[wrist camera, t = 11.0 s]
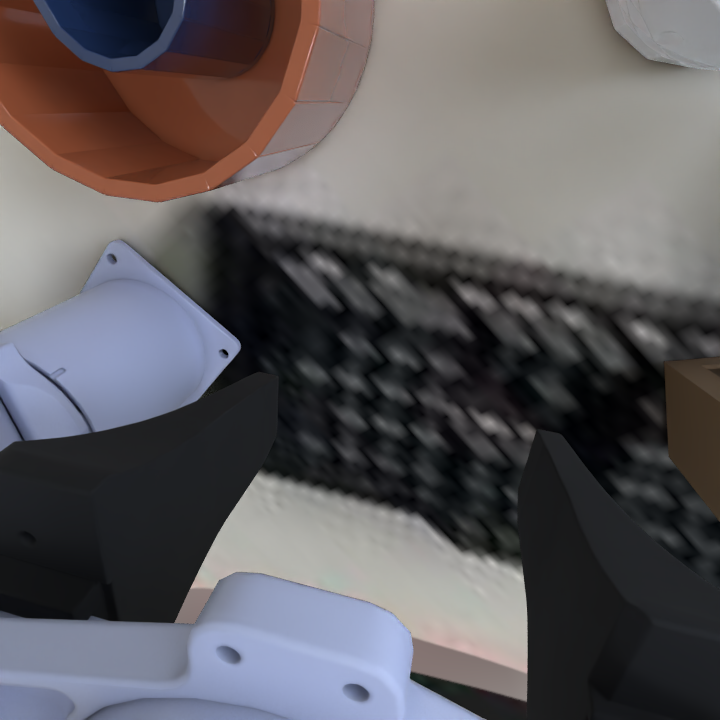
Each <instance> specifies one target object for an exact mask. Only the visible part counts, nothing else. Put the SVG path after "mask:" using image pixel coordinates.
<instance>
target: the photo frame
mask: <svg viewBox="0 0 720 720" xmlns="http://www.w3.org/2000/svg"><path fill="white" fill-rule="evenodd" d="M664 369H665V390H666V411H667V432H668V453H669V458H670V459H671V460H672V461H673V463H674V464H675V465H676V467H677V468H678V469H679V470H680V472H681V473H682V474H683V475H684V477H685V478H686V479H687V480H688V482H689V483H690V484H691V486H692V487H693V488H694V489H695V491H696V492H697V493H698V494H699V496H700V497H701V498H702V500H703V501H704V502H705V503H706V505H707V506H708V507H709V508H710V510H711V511H712V512H713V514H714V515H715V516H716V517H717V519H718V520H719V521H720V357H711V358H700V359H688V360H676V361H665V362H664Z"/></svg>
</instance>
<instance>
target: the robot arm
mask: <svg viewBox="0 0 720 720" xmlns="http://www.w3.org/2000/svg"><path fill="white" fill-rule="evenodd" d="M112 254H113V255H114V256H115V257H116V259H117V261H114V259H113V258H112ZM222 349H224V350H226V351H227V352H228V355H225V354H224V353H223V351H222ZM240 349H241V344H240V342H239V340H238V339H237V338H236V337H235V336H233V335H232V334H231V333H230V332H229V331H228V330H226V329H225V328H224V327H223V326H222V325H221V324H219V323H218V322H217V321H216V320H215V319H214V318H212V317H211V316H210V315H209V314H208V313H207V312H205V311H204V310H203V309H202V308H201V307H200V306H198V305H197V304H196V303H195V302H194V301H193V300H191V299H190V298H189V297H188V296H187V295H186V294H184V293H183V292H182V291H181V290H180V289H179V288H177V287H176V286H175V285H174V284H173V283H172V282H170V281H169V280H168V279H167V278H166V277H165V276H163V275H162V274H161V273H160V272H159V271H158V270H156V269H155V268H154V267H153V266H152V265H151V264H149V263H148V262H147V261H146V260H145V259H144V258H143V257H141V256H140V255H139V254H138V253H137V252H136V251H134V250H133V249H132V248H131V247H130V246H129V245H127V244H126V243H125V242H123V241H122V240H114V241H112V242H110V243H109V244H108V246H107V247H106V249H105V251H104V252H103V254H102V256H101V258H100V259H99V261H98V263H97V264H96V266H95V268H94V270H93V271H92V273H91V275H90V277H89V278H88V280H87V282H86V283H85V285H84V287H83V289H82V290H81V292H80V294H79V295H77V296H75V297H72V298H70V299H68V300H66V301H64V302H62V303H60V304H58V305H55V306H53V307H51V308H49V309H47V310H45V311H43V312H41V313H38V314H36V315H34V316H32V317H30V318H28V319H26V320H24V321H21V322H19V323H17V324H15V325H13V326H11V327H9V328H7V329H4V330H2V331H0V720H485V719H483V718H481V717H480V716H478V715H476V714H474V713H472V712H470V711H468V710H467V709H465V708H463V707H461V706H459V705H457V704H455V703H453V702H452V701H450V700H448V699H446V698H444V697H442V696H440V695H439V694H437V693H435V692H433V691H431V690H429V689H427V688H426V687H424V686H422V685H420V684H418V683H416V682H414V681H412V680H411V679H410V672H411V665H412V657H413V645H412V639H411V633H410V631H409V630H408V629H407V628H406V627H405V626H404V625H403V624H402V623H401V622H400V621H399V620H398V619H397V617H396V616H395V615H394V614H393V613H392V612H389V611H387V610H385V609H383V608H381V607H379V606H377V605H374V604H372V603H370V602H367V601H363V600H359V599H355V598H352V597H348V596H344V595H340V594H337V593H333V592H329V591H325V590H322V589H318V588H314V587H310V586H307V585H303V584H299V583H295V582H292V581H288V580H284V579H280V578H277V577H273V576H269V575H265V574H262V573H247V572H236V573H233V574H231V575H229V576H227V577H225V578H223V579H221V580H219V582H218V583H217V585H216V587H215V589H214V590H213V592H212V594H211V596H210V597H209V599H208V601H207V603H206V604H205V606H204V608H203V610H202V611H201V613H200V615H199V617H198V619H197V620H196V622H195V624H184V623H181V624H180V623H174V622H175V620H176V618H177V616H178V613H179V611H180V609H181V607H182V604H183V603H184V600H185V598H186V596H187V594H188V592H189V590H190V588H191V586H192V584H193V582H194V579H195V577H196V575H197V573H198V571H199V569H200V567H201V565H202V563H203V561H204V559H205V557H206V555H207V553H208V551H209V549H210V548H211V546H212V544H213V542H214V540H215V538H216V536H217V534H218V532H219V531H220V529H221V527H222V526H223V524H224V522H225V521H226V519H227V518H228V516H229V515H230V513H231V512H232V510H233V509H234V507H235V506H236V504H237V503H238V501H239V500H240V498H241V497H242V495H243V494H244V492H245V491H246V489H247V488H248V486H249V485H250V483H251V482H252V480H253V479H254V477H255V476H256V474H257V473H258V471H259V470H260V468H261V466H262V465H263V463H264V461H265V459H266V457H267V455H268V453H269V451H270V449H271V447H272V445H273V442H274V440H275V438H276V436H277V414H278V382H279V376H275V375H270V374H266V373H261V372H258V373H255V374H253V375H250V376H248V377H246V378H244V379H242V380H240V381H238V382H236V383H234V384H232V385H230V386H228V387H226V388H224V389H221V390H219V391H217V392H215V393H213V394H211V395H209V396H207V397H205V398H202V399H200V400H198V399H199V398H200V397H201V396H202V394H203V393H204V392H205V391H206V390H207V389H208V387H209V386H210V385H211V384H212V383H213V382H214V380H215V379H216V378H217V377H218V376H219V375H220V373H221V372H222V371H223V370H224V369H225V368H226V366H227V365H228V364H229V363H230V362H231V361H232V359H233V358H234V357H235V356H236V355H237V354H238V352H239V351H240ZM518 531H519V540H520V549H521V557H522V566H523V574H524V582H525V591H526V600H527V618H528V681H527V683H528V684H527V687H528V688H527V720H720V590H719V589H717V588H716V587H714V586H713V585H711V584H710V583H708V582H707V581H705V580H704V579H703V578H701V577H700V576H698V575H697V574H696V573H694V572H693V571H692V570H690V569H689V568H688V567H686V566H685V565H684V564H682V563H681V562H680V561H679V560H677V559H676V558H675V557H674V556H672V555H671V554H670V553H669V552H667V551H666V550H665V549H664V548H663V547H661V546H660V545H659V544H658V543H657V542H656V541H654V540H653V539H652V538H651V537H650V536H649V535H648V534H647V533H646V532H645V531H644V530H642V529H641V528H640V527H639V526H638V525H637V524H636V523H635V522H634V521H633V520H632V519H631V518H630V517H629V516H628V515H627V514H626V513H625V512H624V511H623V510H622V509H621V508H620V507H619V506H618V504H617V503H616V502H615V501H614V500H613V499H612V498H611V497H610V496H609V495H608V493H607V492H606V491H605V490H604V489H603V488H602V486H601V485H600V484H599V483H598V482H597V480H596V479H595V478H594V477H593V475H592V474H591V473H590V472H589V470H588V469H587V468H586V466H585V465H584V464H583V463H582V461H581V460H580V459H579V457H578V456H577V455H576V453H575V452H574V451H573V449H572V448H571V446H570V445H569V444H568V442H567V441H566V440H565V439H564V437H563V436H562V435H561V434H558V433H553V432H548V431H544V430H539V429H537V431H536V434H535V437H534V441H533V444H532V447H531V450H530V453H529V457H528V460H527V463H526V466H525V469H524V472H523V476H522V479H521V482H520V485H519V488H518Z"/></svg>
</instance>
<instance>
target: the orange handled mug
mask: <svg viewBox="0 0 720 720" xmlns="http://www.w3.org/2000/svg"><path fill="white" fill-rule="evenodd" d="M373 20H374V0H275V19H274V26H273V31H272V35H271V38H270V41H269V43H268V46H267V48H266V50H265V52H264V53H263V55H262V56H261V58H260V59H259V61H258V62H257V63H256V64H255V65H254V66H253V67H252V68H251V69H249V70H248V71H247V72H245V73H243V74H242V75H240V76H237V77H234V78H231V79H226V80H200V79H188V78H176V77H164V76H152V75H140V74H128V73H116V72H110V71H107V70H105V69H102V68H99V67H97V66H94V65H92V64H89V63H86V62H84V61H82V60H81V59H79V58H78V57H77V56H76V55H75V54H74V53H73V52H72V51H71V50H69V49H68V48H67V47H66V46H65V45H64V44H63V43H62V42H61V41H60V40H58V39H57V38H56V37H55V36H54V34H53V33H52V32H51V30H50V28H49V27H48V25H47V23H46V22H45V20H44V18H43V17H42V15H41V13H40V11H39V10H38V8H37V6H36V5H35V3H34V1H33V0H0V124H1V126H3V127H4V128H5V129H6V130H7V131H8V132H9V133H10V134H11V135H13V136H14V137H15V138H16V139H17V140H18V141H20V142H21V143H22V144H23V145H24V146H25V147H27V148H28V149H29V150H30V151H31V152H32V153H33V154H35V155H36V156H37V157H38V158H39V159H40V160H42V161H43V162H44V163H45V164H46V165H47V166H49V167H50V168H52V169H53V170H54V171H56V172H58V173H61V174H63V175H65V176H67V177H69V178H71V179H73V180H75V181H77V182H79V183H81V184H83V185H85V186H87V187H90V188H92V189H94V190H96V191H98V192H100V193H102V194H105V195H107V196H114V197H122V198H129V199H136V200H144V201H151V202H164V201H168V200H173V199H177V198H181V197H185V196H190V195H194V194H198V193H202V192H207V191H211V190H214V189H217V188H220V187H223V186H226V185H229V184H233V183H236V182H239V181H242V180H245V179H248V178H251V177H255V176H258V175H261V174H264V173H267V172H270V171H273V170H277V169H280V168H282V167H284V166H285V165H287V164H288V163H290V162H292V161H294V160H296V159H297V158H299V157H300V156H302V155H303V154H305V153H307V152H308V151H310V150H311V149H312V148H313V147H314V146H315V145H317V144H318V143H319V142H320V141H321V140H322V139H323V138H324V137H325V136H326V135H327V134H328V133H329V132H330V130H331V129H332V128H333V127H334V126H335V125H336V123H337V122H338V121H339V119H340V118H341V116H342V115H343V113H344V111H345V110H346V108H347V107H348V105H349V103H350V101H351V99H352V97H353V95H354V93H355V91H356V89H357V87H358V85H359V82H360V79H361V76H362V73H363V70H364V68H365V65H366V61H367V56H368V52H369V48H370V43H371V38H372V29H373Z"/></svg>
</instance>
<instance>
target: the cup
mask: <svg viewBox="0 0 720 720" xmlns="http://www.w3.org/2000/svg"><path fill="white" fill-rule="evenodd" d="M33 1H34V3H35V5H36V6H37V8H38V10H39V11H40V13H41V15H42V17H43V18H44V20H45V22H46V23H47V25H48V27H49V28H50V30H51V32H52V33H53V34H54V36H55V37H56V38H57V39H58V40H60V41H61V42H62V43H63V44H64V45H65V46H66V47H67V48H68V49H69V50H71V51H72V52H73V53H74V54H75V55H76V56H77V57H78V58H79V59H81V60H82V61H84V62H86V63H89V64H92V65H94V66H97V67H99V68H102V69H105V70H107V71H110V72H116V73H128V74H140V75H152V76H164V77H176V78H188V79H200V80H226V79H231V78H234V77H237V76H240V75H242V74H243V73H245V72H247V71H248V70H249V69H251V68H252V67H253V66H254V65H255V64H256V63H257V62H258V61H259V59H260V58H261V56H262V55H263V53H264V52H265V50H266V48H267V46H268V43H269V41H270V38H271V35H272V31H273V26H274V19H275V0H33Z"/></svg>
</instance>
